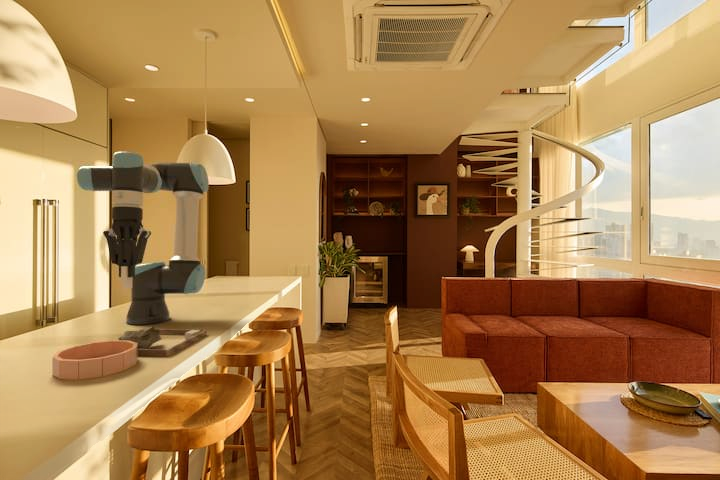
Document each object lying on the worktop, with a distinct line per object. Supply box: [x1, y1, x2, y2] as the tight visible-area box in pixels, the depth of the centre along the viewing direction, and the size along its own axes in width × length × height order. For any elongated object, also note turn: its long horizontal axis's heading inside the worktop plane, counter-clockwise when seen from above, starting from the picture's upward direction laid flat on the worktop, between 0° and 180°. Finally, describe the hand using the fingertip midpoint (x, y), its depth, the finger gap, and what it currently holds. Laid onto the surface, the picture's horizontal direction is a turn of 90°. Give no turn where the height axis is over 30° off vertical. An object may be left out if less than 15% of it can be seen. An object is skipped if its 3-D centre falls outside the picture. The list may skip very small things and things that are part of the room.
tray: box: [138, 328, 208, 358], centre depth 119 cm, size 23×21×2 cm
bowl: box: [51, 339, 139, 381], centre depth 98 cm, size 18×18×4 cm
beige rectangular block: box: [184, 329, 201, 340], centre depth 126 cm, size 4×3×2 cm
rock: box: [117, 326, 163, 349], centre depth 113 cm, size 11×6×10 cm
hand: (126, 288), depth 107 cm, fingers closed
